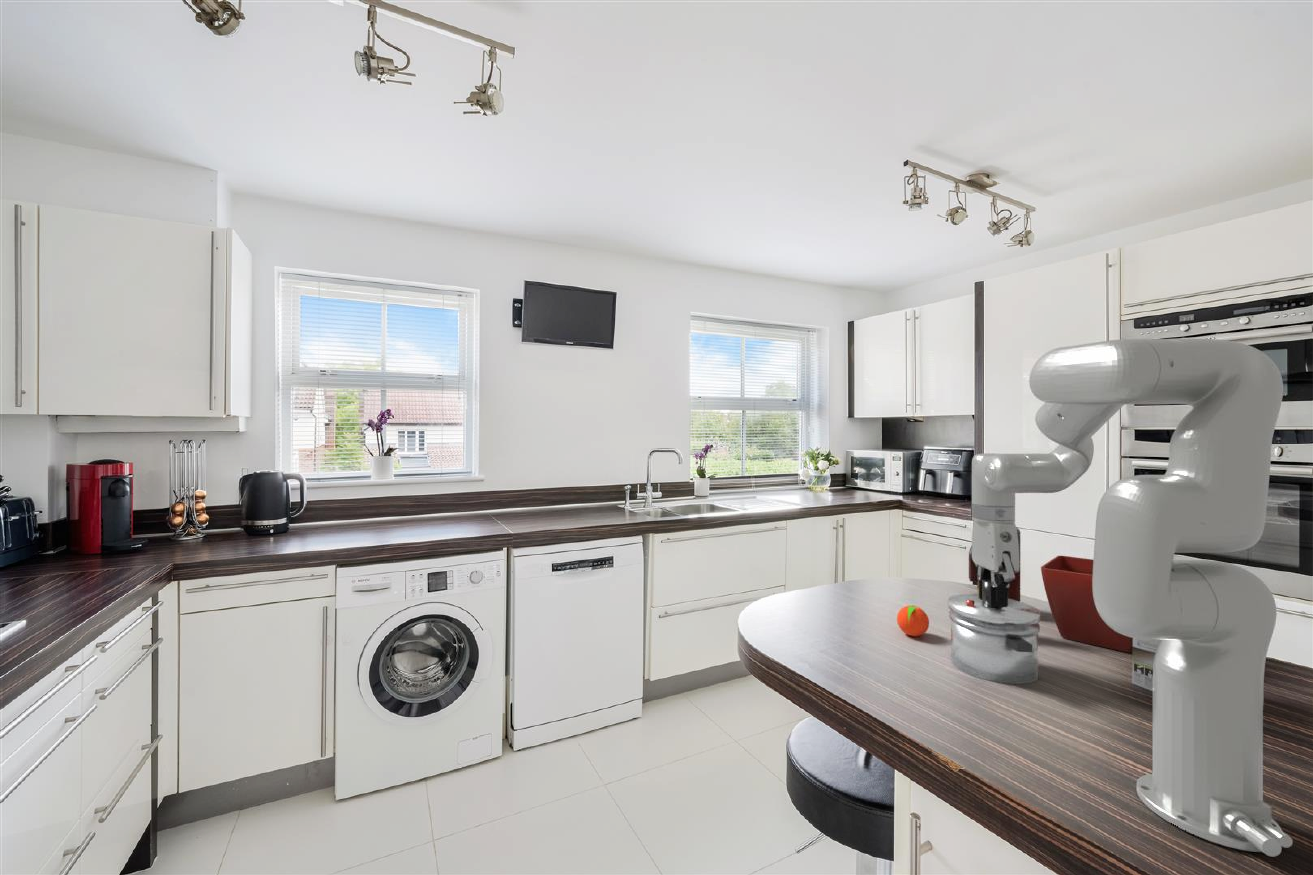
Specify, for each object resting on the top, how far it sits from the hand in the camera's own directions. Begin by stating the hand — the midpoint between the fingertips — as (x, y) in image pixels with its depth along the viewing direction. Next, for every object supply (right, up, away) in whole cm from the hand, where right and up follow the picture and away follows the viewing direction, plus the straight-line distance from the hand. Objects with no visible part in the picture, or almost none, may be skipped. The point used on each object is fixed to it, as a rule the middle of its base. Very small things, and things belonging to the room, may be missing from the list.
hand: (992, 602), depth 108 cm
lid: (0, -2, 0) cm, 2 cm away
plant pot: (+35, -14, +15) cm, 40 cm away
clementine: (-8, -14, +17) cm, 23 cm away
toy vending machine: (+23, -14, +36) cm, 45 cm away
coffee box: (+27, -14, -9) cm, 32 cm away
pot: (0, -13, 0) cm, 13 cm away
